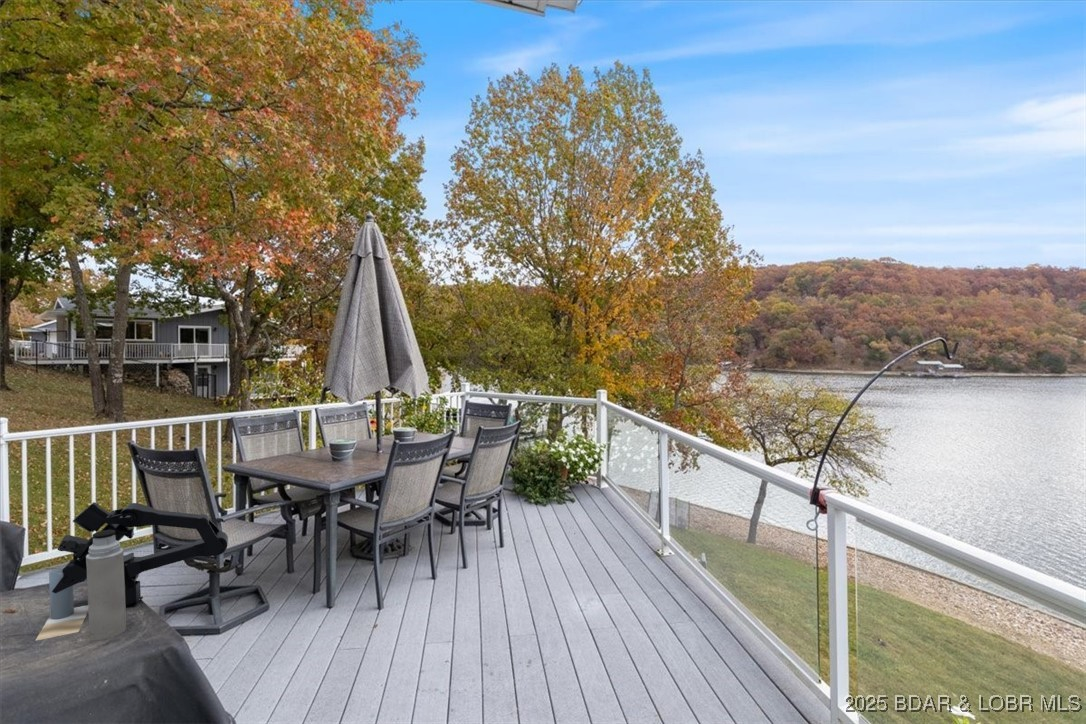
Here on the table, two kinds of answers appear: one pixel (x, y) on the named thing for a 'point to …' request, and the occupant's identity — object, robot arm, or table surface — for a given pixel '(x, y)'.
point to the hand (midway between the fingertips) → (57, 586)
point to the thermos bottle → (105, 586)
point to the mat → (64, 624)
